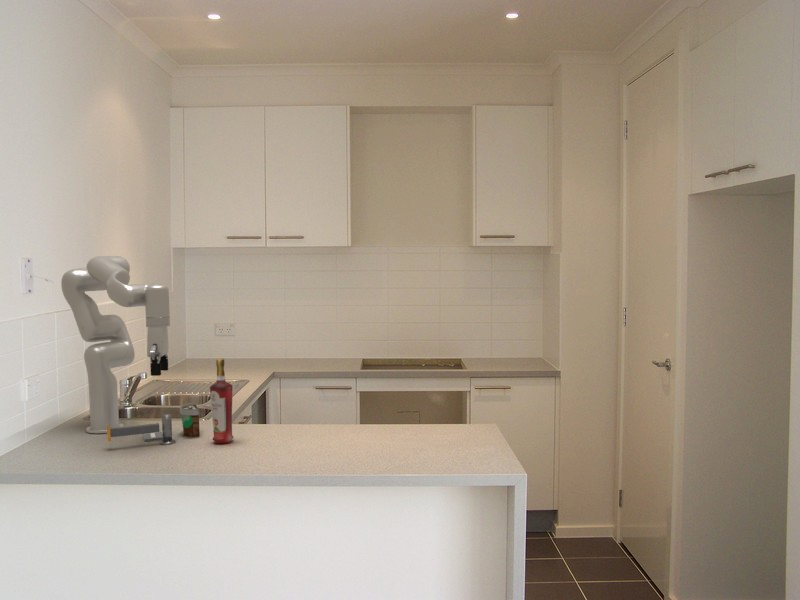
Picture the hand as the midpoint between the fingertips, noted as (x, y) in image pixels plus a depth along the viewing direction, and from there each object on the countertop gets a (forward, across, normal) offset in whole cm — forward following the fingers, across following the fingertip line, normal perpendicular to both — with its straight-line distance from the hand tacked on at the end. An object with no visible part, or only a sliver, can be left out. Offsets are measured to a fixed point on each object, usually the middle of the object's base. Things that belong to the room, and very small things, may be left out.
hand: (159, 372), depth 233 cm
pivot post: (+24, +1, +2) cm, 24 cm away
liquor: (+24, +4, +21) cm, 32 cm away
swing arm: (+20, +5, -8) cm, 22 cm away
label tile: (+24, -6, -4) cm, 25 cm away
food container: (+24, -9, +7) cm, 26 cm away
